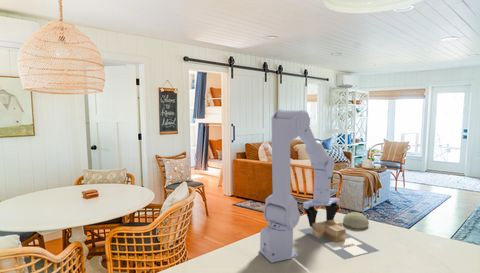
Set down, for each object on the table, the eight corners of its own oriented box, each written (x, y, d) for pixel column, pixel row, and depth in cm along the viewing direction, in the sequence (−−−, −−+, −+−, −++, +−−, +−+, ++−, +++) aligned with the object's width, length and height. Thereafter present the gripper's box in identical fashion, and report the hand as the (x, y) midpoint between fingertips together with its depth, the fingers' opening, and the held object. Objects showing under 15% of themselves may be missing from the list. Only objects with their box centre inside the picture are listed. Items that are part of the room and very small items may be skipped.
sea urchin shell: (337, 221, 113) (344, 203, 117) (343, 231, 118) (350, 214, 121) (361, 228, 107) (368, 209, 110) (367, 239, 111) (373, 220, 115)
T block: (328, 244, 97) (328, 232, 97) (312, 234, 105) (312, 223, 104) (352, 239, 101) (352, 227, 101) (334, 229, 109) (335, 219, 108)
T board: (344, 260, 88) (344, 259, 87) (298, 231, 109) (298, 229, 108) (379, 252, 93) (379, 250, 93) (329, 225, 114) (329, 224, 114)
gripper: (312, 193, 100) (311, 232, 101) (346, 189, 106) (344, 226, 107) (300, 188, 106) (299, 225, 108) (332, 184, 112) (331, 219, 114)
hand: (320, 225), depth 108 cm, fingers open, 7 cm apart
